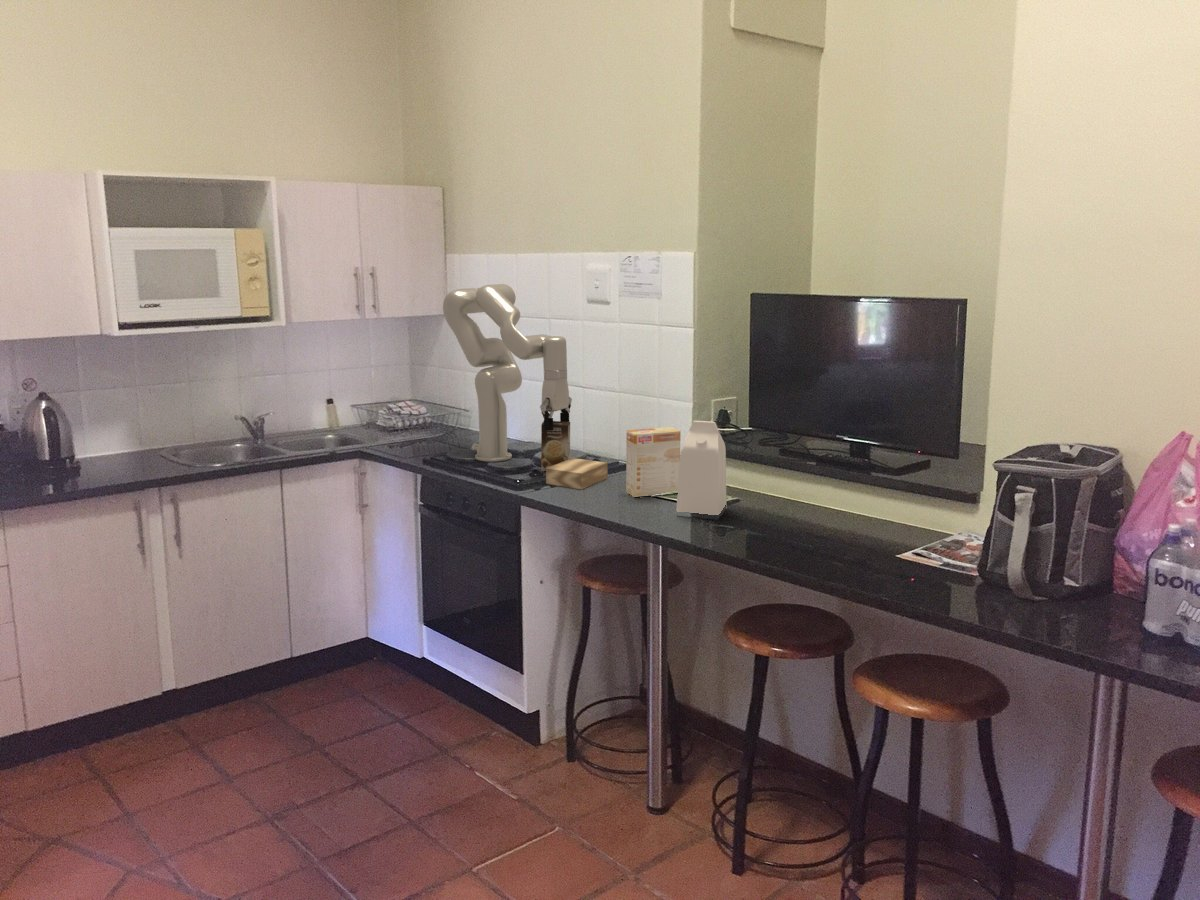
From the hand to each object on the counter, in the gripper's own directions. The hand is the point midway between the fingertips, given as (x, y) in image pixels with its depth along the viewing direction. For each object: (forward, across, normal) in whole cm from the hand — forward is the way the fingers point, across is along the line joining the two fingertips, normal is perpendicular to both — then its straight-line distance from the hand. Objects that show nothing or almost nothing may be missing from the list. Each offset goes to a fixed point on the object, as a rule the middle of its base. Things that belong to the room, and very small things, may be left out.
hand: (557, 427), depth 314 cm
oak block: (+15, +8, +12) cm, 21 cm away
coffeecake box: (+16, +9, +39) cm, 43 cm away
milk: (+16, +20, +60) cm, 65 cm away
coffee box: (+15, 0, -1) cm, 15 cm away
